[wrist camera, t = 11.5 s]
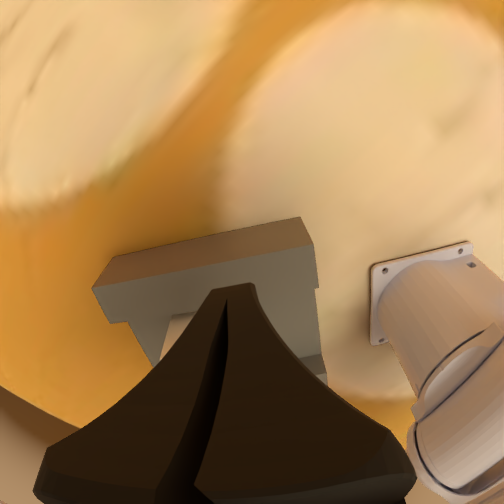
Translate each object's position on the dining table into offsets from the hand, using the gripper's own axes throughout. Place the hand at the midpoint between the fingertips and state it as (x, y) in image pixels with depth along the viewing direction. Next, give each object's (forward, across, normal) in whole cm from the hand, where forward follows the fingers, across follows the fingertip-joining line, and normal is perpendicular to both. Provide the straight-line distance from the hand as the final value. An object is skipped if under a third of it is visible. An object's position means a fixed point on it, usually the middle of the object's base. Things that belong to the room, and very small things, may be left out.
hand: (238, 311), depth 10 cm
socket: (+10, +3, +8) cm, 13 cm away
